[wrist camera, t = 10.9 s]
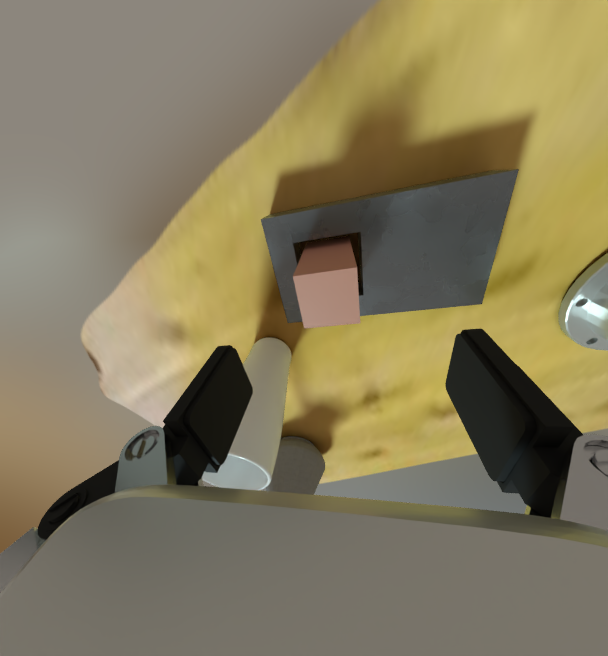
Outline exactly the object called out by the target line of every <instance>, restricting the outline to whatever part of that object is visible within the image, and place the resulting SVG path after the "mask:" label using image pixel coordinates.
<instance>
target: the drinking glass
mask: <svg viewBox="0 0 608 656" xmlns="http://www.w3.org/2000/svg"><path fill="white" fill-rule="evenodd" d="M291 358H292V355H291V351H290V349H289V347H288V346H287V345H286V344H285V343H284V342H283V341H281V340H279V339H276V338H271V337H267V338H262V339H260V340H258V341H257V342H256V343H255V344H254V345H253V347H252V349H251V351H250V353H249V355H248V356H247V358H246V360H245V361H244V363H243V367H244V369H245V371H246V373H247V376H248V378H249V380H250V383H251V385H252V387H253V394H252V397H251V399H250V402H249V404H248V406H247V409H246V411H245V414H244V416H243V419H242V421H241V424H240V426H239V428H238V431H237V433H236V436H235V438H234V441H233V443H232V446H231V448H230V451H229V453H228V455H227V458H226V460H225V462H224V463H223V464H222V465H220V468H219V470H218V473H210V472H205V471H204V474H203V476H202V479H203V480H204V481H206V482H208V483H210V484H213V485H215V486H217V487H221V488H234V489H246V490H261V489H264V488H266V487H267V486H268V485H269V484H270V482H271V479H272V475H273V471H274V467H275V463H276V459H277V455H278V450H279V445H280V440H281V434H282V428H283V420H284V411H285V402H286V393H287V384H288V376H289V368H290V363H291Z"/></svg>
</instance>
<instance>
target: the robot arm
mask: <svg viewBox="0 0 608 656" xmlns="http://www.w3.org/2000/svg"><path fill="white" fill-rule="evenodd" d="M559 324H560V327H561V330H562V331H563V332H564V333H565V335H566V336H568V337H569V338H570V339H572V340H573V341H575V342H576V343H578V344H580V345H582V346H584V347H587V348H591V349H596V350H608V253H607V254H605V255H604V256H603V257H601V258H600V259H599V260H597V261H596V262H595V263H594V264H592V265H591V266H590V267H589V268H588V269H587V270H586V271H585V272H584V273H583V274H582V275H581V276H580V277H579V278H578V279H577V280H576V281H575V282H574V284H573V285H572V286H571V288H570V289H569V290H568V292H567V294H566V295H565V297H564V299H563V301H562V303H561V307H560V310H559ZM446 390H447V392H448V395H449V397H450V399H451V401H452V403H453V405H454V407H455V409H456V411H457V413H458V415H459V417H460V419H461V421H462V423H463V425H464V427H465V429H466V431H467V433H468V435H469V437H470V439H471V441H472V443H473V445H474V447H475V449H476V451H477V453H478V455H479V457H480V459H481V461H482V463H483V465H484V467H485V469H486V471H487V472H488V475H489V476H490V478H491V479H492V480H493V481H497V482H498V484H499V486H500V488H501V490H502V492H506V493H519V494H520V496H521V497H522V499H523V501H524V503H525V504H527V507H526V511H525V514H518V513H509V512H498V511H489V510H480V509H469V508H461V507H449V506H438V505H426V504H415V503H403V502H392V501H381V500H370V499H358V498H346V497H333V496H321V495H309V494H297V493H285V492H272V491H259V490H246V489H234V488H221V487H206V486H203V481H202V476H203V474H204V471H205V472H210V473H218V470H219V468H220V465H222V464H223V463H224V462H225V460H226V458H227V455H228V453H229V451H230V448H231V446H232V443H233V441H234V438H235V436H236V433H237V431H238V428H239V426H240V424H241V421H242V419H243V416H244V414H245V411H246V409H247V406H248V404H249V402H250V399H251V397H252V394H253V387H252V385H251V383H250V380H249V378H248V376H247V373H246V371H245V369H244V367H243V364H242V362H241V360H240V357H239V355H238V353H237V351H236V349H235V348H233V347H232V346H230V345H228V346H218V347H217V348H216V349H215V351H214V352H213V353H212V355H211V356H210V358H209V359H208V360H207V362H206V363H205V364H204V366H203V367H202V368H201V370H200V371H199V373H198V374H197V375H196V377H195V378H194V379H193V381H192V382H191V383H190V385H189V386H188V388H187V389H186V390H185V392H184V393H183V394H182V396H181V397H180V399H179V400H178V401H177V403H176V404H175V405H174V407H173V408H172V409H171V411H170V412H169V414H168V415H167V416H166V418H165V419H164V420H163V422H164V423H165V426H164V427H163V428H161V427H160V426H152V427H149V428H146V429H144V430H142V431H140V432H139V433H137V434H136V435H135V436H133V437H132V438H131V439H130V440H129V441H128V443H127V444H126V445H125V446H124V448H123V449H122V451H121V454H120V457H119V460H118V461H117V462H115V463H113V464H112V465H110V466H109V467H107V468H105V469H104V470H102V471H101V472H99V473H97V474H95V475H94V476H92V477H91V478H89V479H87V480H86V481H84V482H82V483H81V484H79V485H78V486H76V487H74V488H73V489H71V490H70V491H68V492H67V493H65V494H64V495H63V496H61V497H60V498H59V499H58V500H57V501H56V502H55V503H54V504H53V505H52V506H51V507H50V508H49V509H48V511H47V512H46V513H45V515H44V517H43V518H42V519H41V522H40V524H39V526H38V529H37V528H35V527H33V528H32V529H30V530H29V531H28V532H27V533H25V534H24V535H23V536H22V537H20V538H19V539H18V540H17V541H16V542H14V543H13V544H12V545H11V546H9V547H8V548H7V549H6V550H4V551H3V552H2V553H1V554H0V656H608V437H607V436H601V435H595V434H590V435H583V434H582V433H581V432H580V431H579V430H578V429H577V428H576V427H575V425H574V424H573V423H572V422H571V421H570V420H569V419H568V418H567V417H566V416H565V415H564V414H563V413H562V412H561V411H560V410H559V409H558V407H557V406H556V405H555V404H554V403H553V402H552V401H551V400H550V399H549V398H548V397H547V396H546V395H545V394H544V393H543V392H542V391H541V389H540V388H539V387H538V386H537V385H536V384H535V383H534V382H533V381H532V380H531V379H530V378H529V377H528V376H527V375H526V374H525V373H524V371H523V370H522V369H521V368H520V367H519V366H517V365H516V364H515V363H514V362H513V361H512V360H511V359H510V358H509V357H508V356H507V355H506V354H505V352H504V351H503V350H502V349H501V348H500V347H499V346H498V345H497V344H496V343H495V342H494V341H493V340H492V339H491V338H490V336H489V335H488V334H487V333H486V332H485V331H484V330H482V329H469V330H462V332H461V334H457V335H456V338H455V343H454V347H453V352H452V356H451V361H450V365H449V370H448V374H447V379H446Z"/></svg>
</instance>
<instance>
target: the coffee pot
mask: <svg viewBox="0 0 608 656" xmlns="http://www.w3.org/2000/svg"><path fill="white" fill-rule="evenodd" d="M324 470H325V462H324V459H323V457H322V455H321V453H320V452H319V450H318V449H317V448H316V447H315V446H314V445H313V444H312V443H311V442H310V441H308V440H306V439H304V438H300V437H293V436H290V437H283V438H281V440H280V445H279V450H278V455H277V459H276V463H275V467H274V471H273V475H272V479H271V482H270V484H269V485H268V486H267V487H266V491H272V492H285V493H297V494H309V495H314V493H315V490H316V488H317V486H318V484H319V481H320V479H321V477H322V475H323V472H324Z"/></svg>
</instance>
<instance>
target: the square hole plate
mask: <svg viewBox="0 0 608 656" xmlns="http://www.w3.org/2000/svg"><path fill="white" fill-rule="evenodd" d="M518 170H519V169H515V170H493V171H487V172H482V173H477V174H472V175H467V176H462V177H457V178H452V179H447V180H442V181H437V182H432V183H426V184H421V185H416V186H411V187H406V188H401V189H396V190H391V191H386V192H381V193H376V194H371V195H366V196H361V197H356V198H351V199H345V200H340V201H335V202H330V203H325V204H320V205H315V206H310V207H305V208H300V209H295V210H290V211H285V212H280V213H275V214H270V215H268V216H266V217H264V218H263V219H261V222H262V226H263V229H264V233H265V237H266V241H267V245H268V249H269V252H270V256H271V260H272V264H273V268H274V272H275V275H276V279H277V283H278V287H279V291H280V295H281V298H282V302H283V306H284V310H285V314H286V318H287V321H288V323H293V322H303V321H302V316H301V312H300V307H299V302H298V298H297V293H296V289H295V284H294V280H293V275H294V272H295V270H296V267H297V265H298V263H299V260H300V258H301V251H300V246H299V242H302V241H308V240H314V239H320V238H326V237H332V236H338V235H344V234H349V233H355V232H358V244H359V264H360V283H358V293H359V310H360V316H365V315H375V314H385V313H395V312H405V311H416V310H426V309H436V308H446V307H456V306H466V305H477V304H482V301H483V298H484V294H485V290H486V287H487V283H488V279H489V276H490V272H491V269H492V265H493V261H494V258H495V254H496V250H497V247H498V243H499V239H500V236H501V232H502V228H503V225H504V221H505V218H506V214H507V210H508V207H509V203H510V199H511V196H512V192H513V188H514V185H515V181H516V177H517V174H518Z"/></svg>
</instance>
